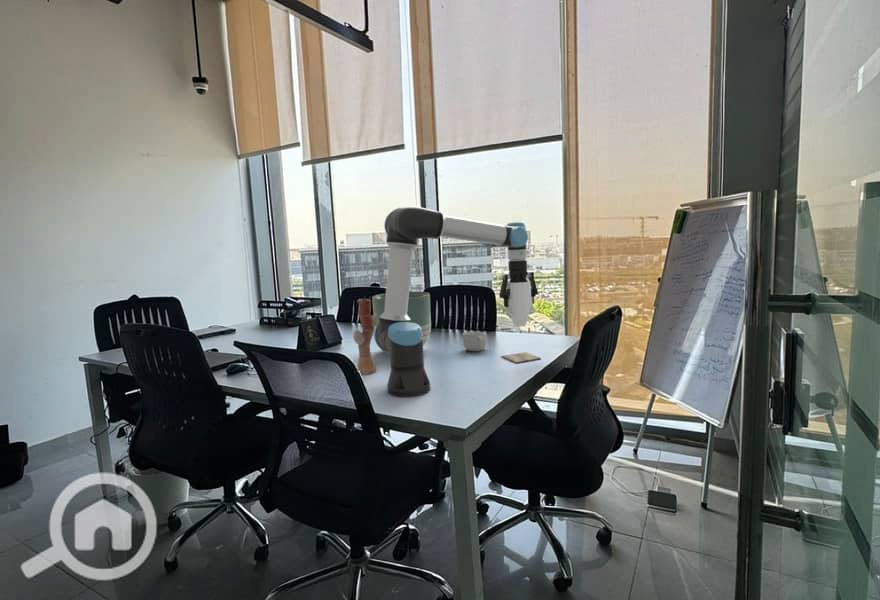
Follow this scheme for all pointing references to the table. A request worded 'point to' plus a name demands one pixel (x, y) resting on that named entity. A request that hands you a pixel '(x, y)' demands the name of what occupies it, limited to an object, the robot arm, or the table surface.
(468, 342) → the teacup
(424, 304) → the planter
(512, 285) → the cup
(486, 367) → the table surface
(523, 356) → the coaster
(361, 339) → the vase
